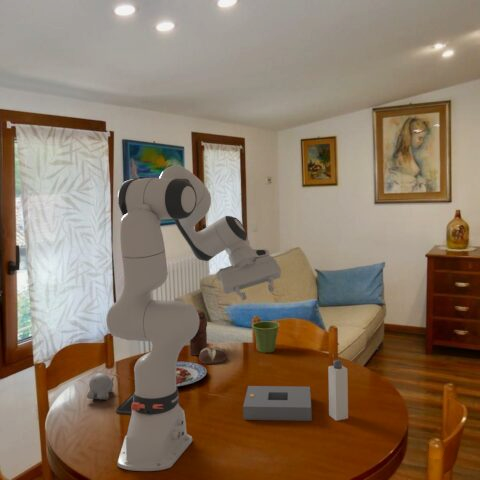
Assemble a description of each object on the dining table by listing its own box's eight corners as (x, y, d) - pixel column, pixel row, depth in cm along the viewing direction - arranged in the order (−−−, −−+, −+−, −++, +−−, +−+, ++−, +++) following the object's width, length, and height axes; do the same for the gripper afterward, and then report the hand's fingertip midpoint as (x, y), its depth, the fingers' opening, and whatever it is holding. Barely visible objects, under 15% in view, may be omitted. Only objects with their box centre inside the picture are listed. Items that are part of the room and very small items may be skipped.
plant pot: (249, 354, 210) (248, 327, 209) (256, 345, 221) (255, 320, 220) (276, 355, 207) (276, 329, 206) (283, 347, 218) (282, 321, 217)
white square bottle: (348, 418, 148) (347, 361, 146) (336, 420, 146) (335, 364, 145) (340, 412, 151) (339, 357, 150) (329, 415, 150) (328, 359, 149)
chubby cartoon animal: (119, 400, 173) (123, 374, 175) (102, 400, 162) (106, 373, 164) (101, 398, 175) (105, 373, 177) (82, 398, 164) (87, 371, 166)
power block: (311, 420, 147) (311, 406, 146) (243, 419, 149) (243, 405, 149) (310, 398, 163) (309, 386, 162) (248, 397, 165) (248, 385, 165)
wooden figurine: (194, 347, 222) (193, 307, 220) (209, 347, 221) (207, 307, 219) (187, 356, 210) (185, 313, 208) (202, 356, 209) (200, 314, 207)
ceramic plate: (122, 380, 185) (121, 372, 185) (177, 362, 203) (177, 355, 203) (164, 398, 167) (164, 390, 167) (221, 377, 185) (220, 369, 185)
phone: (114, 410, 156) (134, 392, 171) (115, 414, 156) (134, 395, 171) (138, 412, 155) (156, 393, 169) (138, 415, 155) (156, 396, 170)
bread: (197, 365, 199) (197, 352, 199) (201, 356, 210) (200, 344, 210) (225, 364, 199) (225, 352, 198) (227, 355, 210) (227, 343, 210)
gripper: (214, 265, 166) (226, 298, 157) (272, 248, 169) (287, 280, 161) (215, 276, 170) (228, 309, 162) (272, 259, 174) (287, 290, 166)
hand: (258, 294), depth 161 cm, fingers open, 8 cm apart
